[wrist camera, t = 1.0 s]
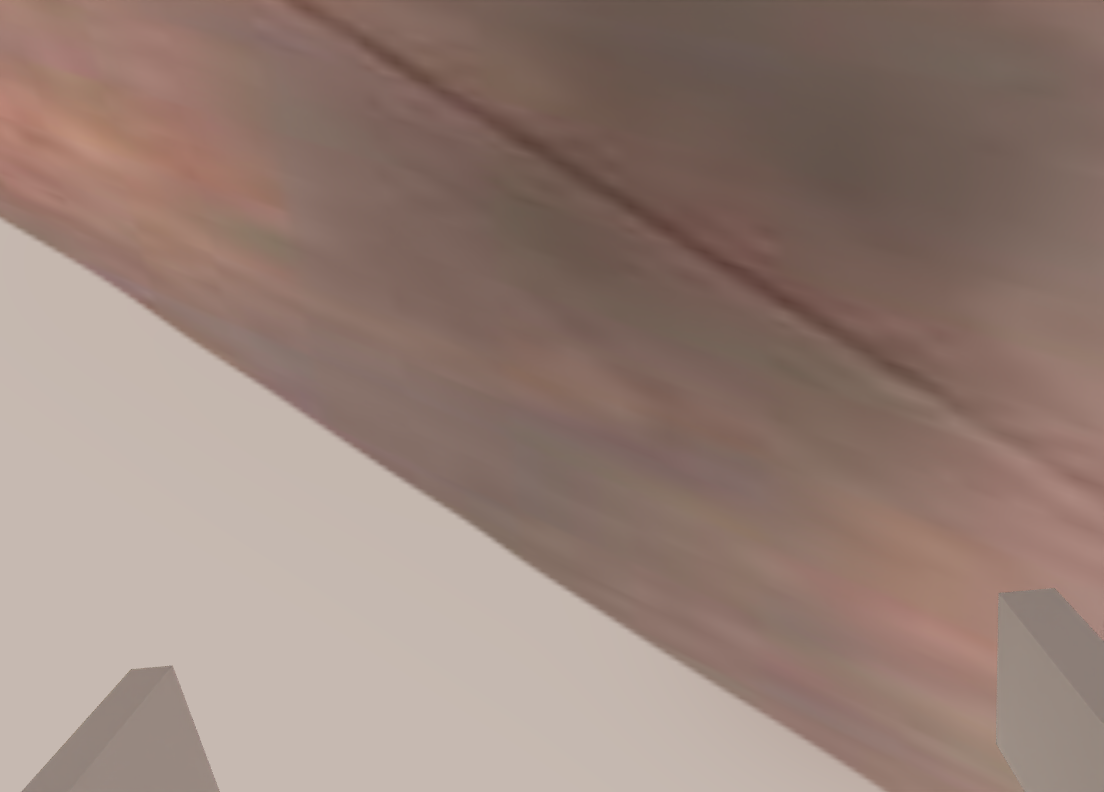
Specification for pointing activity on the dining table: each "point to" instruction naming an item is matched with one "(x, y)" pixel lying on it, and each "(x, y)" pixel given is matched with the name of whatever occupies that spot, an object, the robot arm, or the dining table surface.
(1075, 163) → the dining table surface
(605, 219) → the dining table surface
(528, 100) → the dining table surface
